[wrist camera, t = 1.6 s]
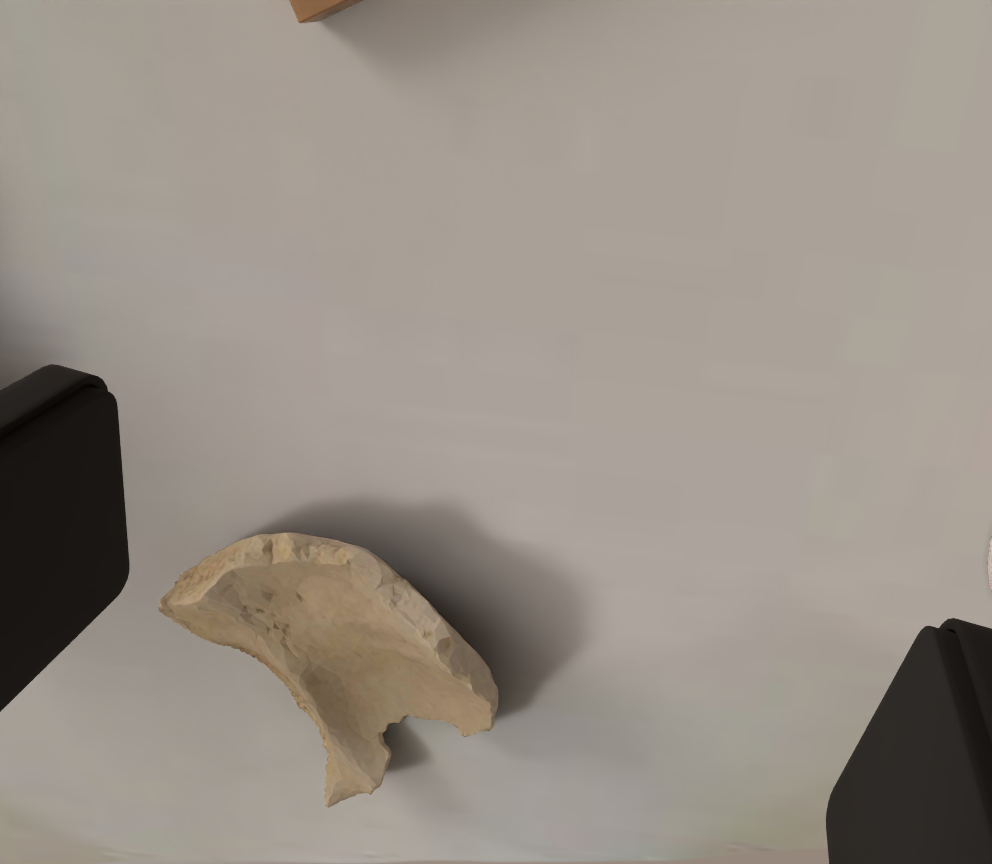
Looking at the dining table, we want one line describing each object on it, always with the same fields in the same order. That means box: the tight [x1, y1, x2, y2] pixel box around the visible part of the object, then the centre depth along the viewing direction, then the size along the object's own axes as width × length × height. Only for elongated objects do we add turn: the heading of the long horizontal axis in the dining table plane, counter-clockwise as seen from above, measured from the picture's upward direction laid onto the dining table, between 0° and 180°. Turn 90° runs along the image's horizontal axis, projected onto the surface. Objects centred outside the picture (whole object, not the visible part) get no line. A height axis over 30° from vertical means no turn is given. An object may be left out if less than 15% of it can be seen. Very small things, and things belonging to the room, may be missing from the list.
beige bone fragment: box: [159, 533, 498, 807], centre depth 45 cm, size 18×15×4 cm
